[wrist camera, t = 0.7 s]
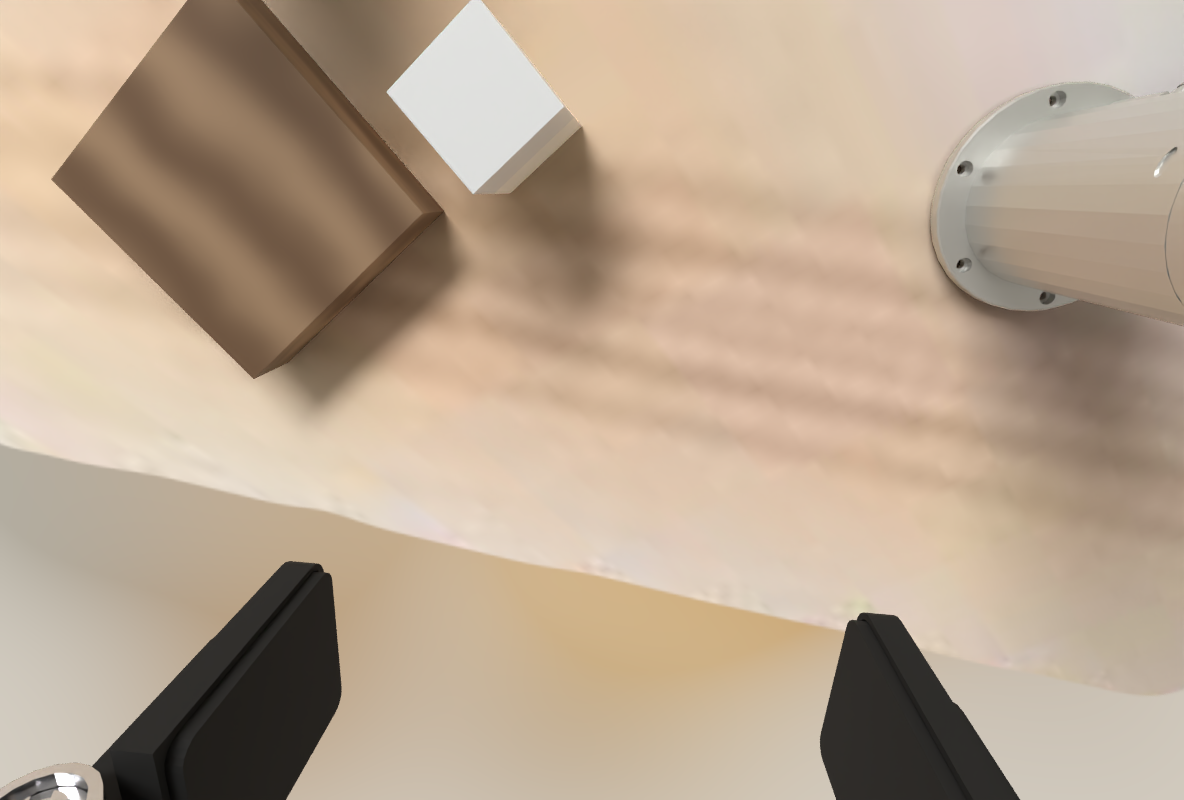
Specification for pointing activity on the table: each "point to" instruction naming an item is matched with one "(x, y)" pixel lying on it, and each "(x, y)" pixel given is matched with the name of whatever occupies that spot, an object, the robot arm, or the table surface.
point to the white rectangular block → (483, 103)
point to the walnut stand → (245, 182)
